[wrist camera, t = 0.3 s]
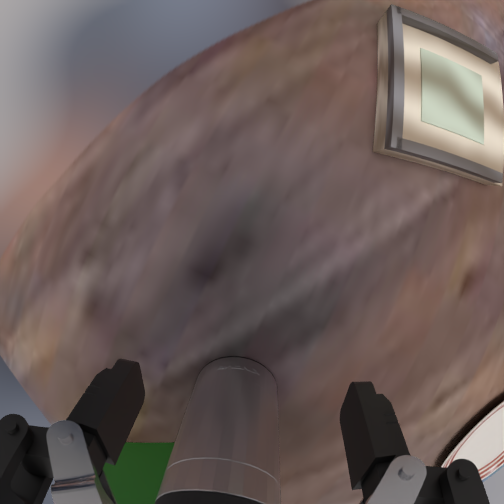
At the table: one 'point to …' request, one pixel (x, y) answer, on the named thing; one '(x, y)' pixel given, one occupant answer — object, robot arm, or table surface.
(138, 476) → the hardback book
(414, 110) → the tray
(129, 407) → the robot arm
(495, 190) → the table surface
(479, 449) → the dinner plate
